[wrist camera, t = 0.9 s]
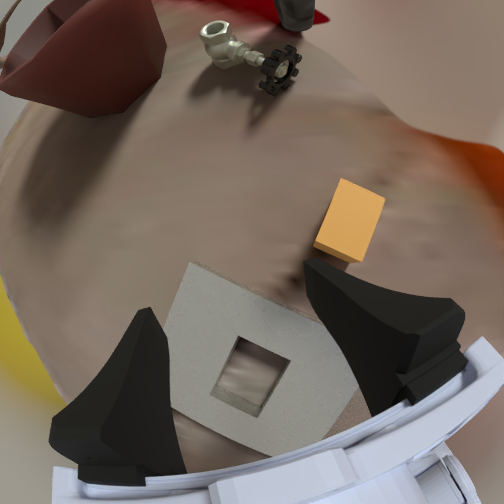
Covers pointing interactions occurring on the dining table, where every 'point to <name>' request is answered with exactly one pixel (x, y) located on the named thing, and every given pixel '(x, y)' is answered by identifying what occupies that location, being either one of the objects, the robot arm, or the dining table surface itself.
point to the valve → (249, 56)
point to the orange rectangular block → (349, 222)
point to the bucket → (85, 55)
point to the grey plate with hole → (267, 336)
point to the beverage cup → (296, 14)
